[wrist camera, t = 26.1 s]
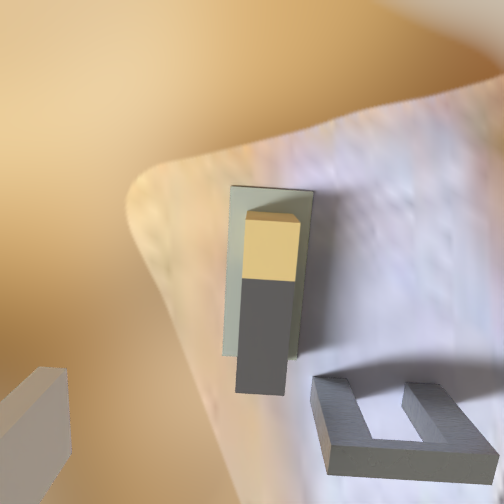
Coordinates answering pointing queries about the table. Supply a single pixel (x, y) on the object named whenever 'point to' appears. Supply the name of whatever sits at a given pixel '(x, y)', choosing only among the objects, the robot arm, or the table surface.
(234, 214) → the mat
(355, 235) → the table surface
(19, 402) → the robot arm
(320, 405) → the frame
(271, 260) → the two-tone upright block
